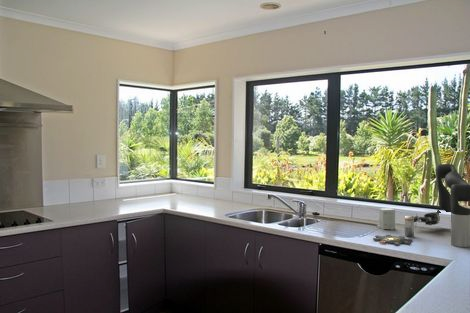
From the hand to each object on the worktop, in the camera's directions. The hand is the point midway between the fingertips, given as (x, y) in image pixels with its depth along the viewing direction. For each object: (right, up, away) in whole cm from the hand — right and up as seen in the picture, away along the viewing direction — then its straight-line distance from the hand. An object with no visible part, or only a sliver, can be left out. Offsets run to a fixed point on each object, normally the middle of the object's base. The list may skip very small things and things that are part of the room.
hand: (419, 221), depth 238 cm
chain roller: (-9, -8, -6) cm, 13 cm away
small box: (-14, -7, +14) cm, 22 cm away
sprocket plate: (-23, -8, -17) cm, 30 cm away
